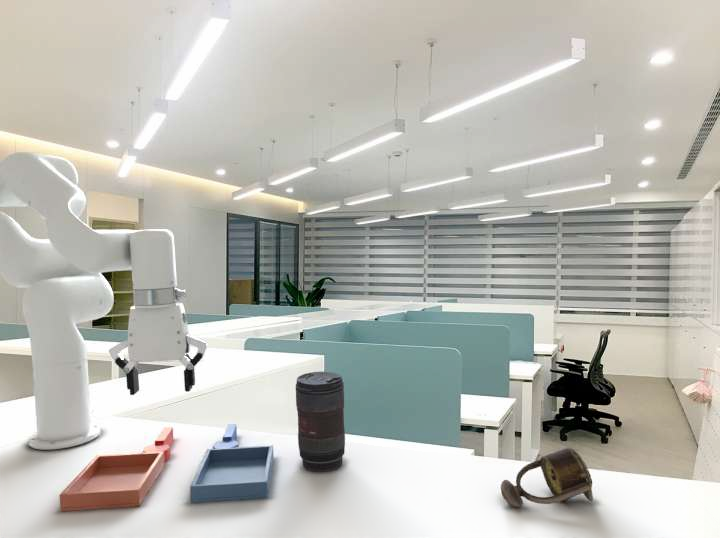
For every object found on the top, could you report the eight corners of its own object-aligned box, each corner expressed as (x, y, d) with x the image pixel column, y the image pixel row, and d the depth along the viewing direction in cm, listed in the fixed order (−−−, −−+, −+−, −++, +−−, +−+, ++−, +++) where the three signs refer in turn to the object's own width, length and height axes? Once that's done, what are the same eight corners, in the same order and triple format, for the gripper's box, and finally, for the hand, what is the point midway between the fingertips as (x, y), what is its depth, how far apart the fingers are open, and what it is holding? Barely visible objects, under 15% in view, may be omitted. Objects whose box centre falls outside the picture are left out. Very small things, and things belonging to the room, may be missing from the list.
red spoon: (166, 463, 101) (166, 448, 101) (140, 465, 101) (139, 450, 100) (181, 440, 112) (180, 426, 112) (157, 441, 112) (156, 428, 112)
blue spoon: (237, 459, 102) (236, 444, 102) (211, 460, 102) (210, 446, 101) (244, 436, 113) (243, 423, 113) (221, 437, 113) (220, 424, 112)
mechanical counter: (604, 482, 77) (592, 439, 86) (505, 467, 79) (503, 427, 89) (596, 526, 79) (585, 480, 88) (500, 511, 82) (499, 467, 91)
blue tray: (208, 463, 101) (207, 449, 100) (273, 459, 101) (273, 445, 101) (190, 503, 86) (189, 486, 86) (267, 498, 87) (266, 481, 87)
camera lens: (289, 470, 97) (286, 381, 96) (311, 452, 104) (308, 369, 103) (334, 476, 94) (331, 385, 93) (353, 457, 101) (351, 372, 100)
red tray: (97, 469, 99) (96, 455, 99) (164, 465, 100) (164, 451, 100) (60, 511, 84) (59, 494, 84) (139, 506, 85) (138, 489, 85)
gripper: (208, 293, 110) (213, 383, 111) (113, 298, 108) (119, 388, 109) (200, 298, 102) (206, 394, 103) (98, 303, 101) (105, 400, 102)
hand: (161, 391), depth 106 cm, fingers open, 9 cm apart
